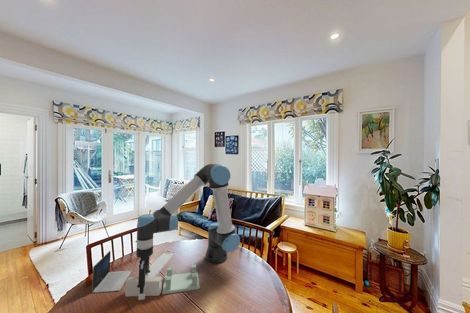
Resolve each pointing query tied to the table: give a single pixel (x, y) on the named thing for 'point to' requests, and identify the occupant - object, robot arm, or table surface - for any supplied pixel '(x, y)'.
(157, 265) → the baseboard
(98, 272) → the laptop
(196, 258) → the table surface
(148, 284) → the white rectangular block
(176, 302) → the table surface
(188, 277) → the rack
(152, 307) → the table surface
